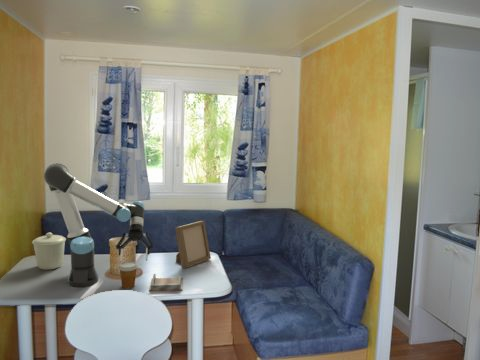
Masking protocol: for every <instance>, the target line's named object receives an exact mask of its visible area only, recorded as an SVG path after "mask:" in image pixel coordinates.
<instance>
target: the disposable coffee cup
mask: <svg viewBox="0 0 480 360" xmlns="http://www.w3.org/2000/svg"><path fill="white" fill-rule="evenodd" d="M118 269H119V274H120V280H121V286H122V288H123V289H132V288H134V287H136V285H135V284H136V276H137V269H138V265H137V263H136V262H135V261H123V262H121V263H120V264H119V266H118Z"/></svg>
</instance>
